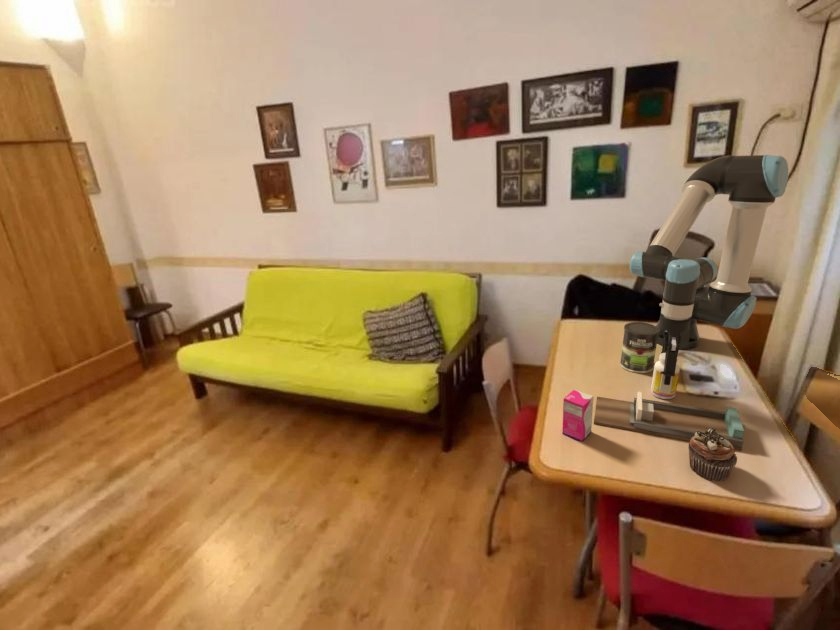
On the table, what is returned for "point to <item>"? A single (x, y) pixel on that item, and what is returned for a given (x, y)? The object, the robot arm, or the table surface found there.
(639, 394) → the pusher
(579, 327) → the table surface
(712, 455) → the cupcake
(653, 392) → the supplement bottle
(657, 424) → the dispenser stand
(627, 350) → the coffee can
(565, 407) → the supplement box
